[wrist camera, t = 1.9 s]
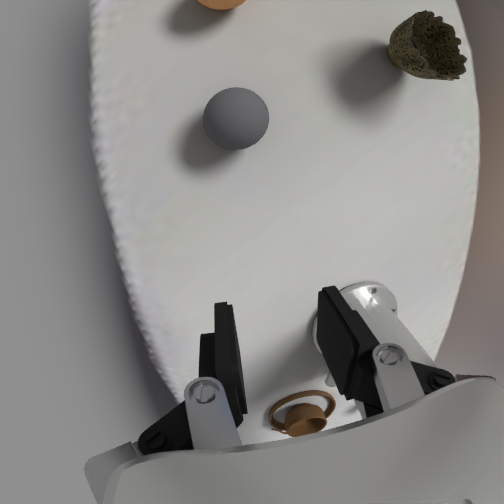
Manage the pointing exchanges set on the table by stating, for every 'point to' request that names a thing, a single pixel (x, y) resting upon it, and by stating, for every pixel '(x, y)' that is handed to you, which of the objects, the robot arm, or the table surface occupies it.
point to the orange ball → (221, 3)
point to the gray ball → (236, 118)
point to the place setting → (303, 415)
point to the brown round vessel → (426, 48)
